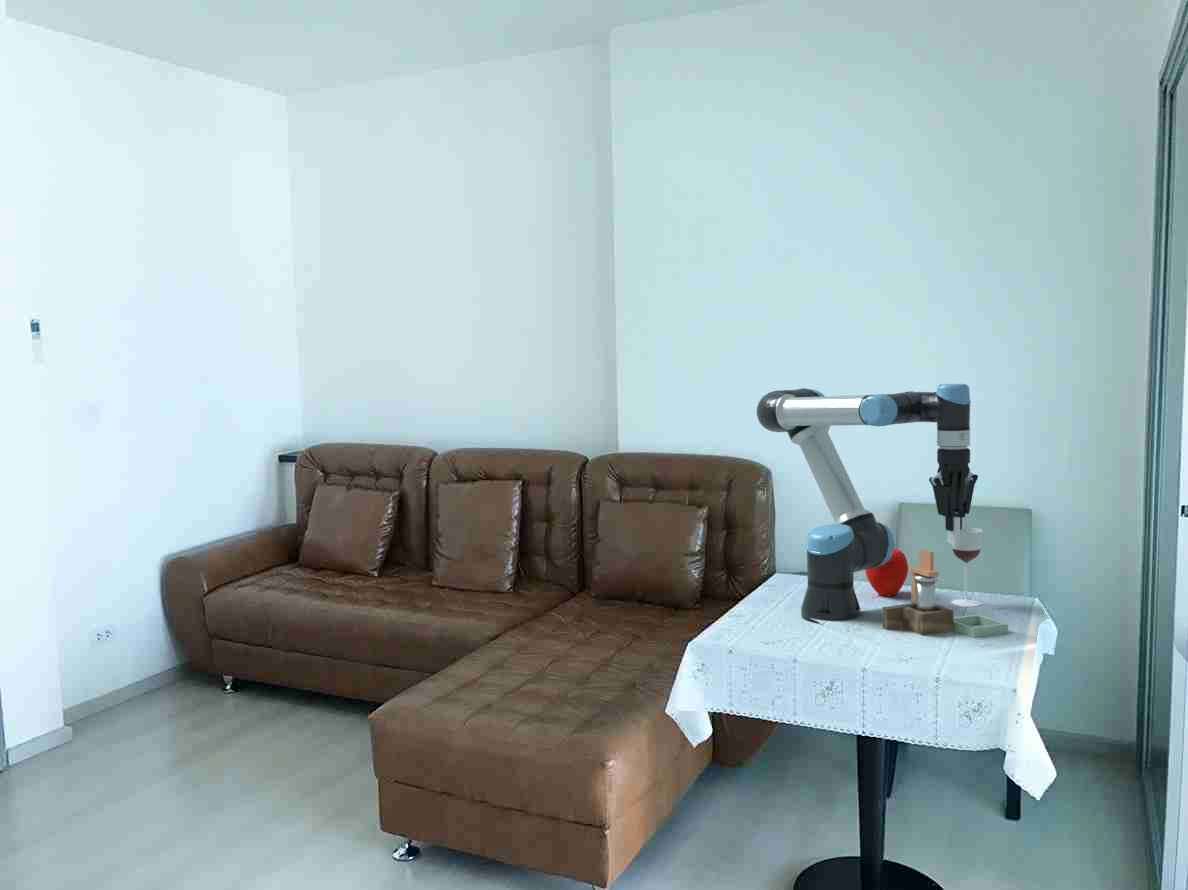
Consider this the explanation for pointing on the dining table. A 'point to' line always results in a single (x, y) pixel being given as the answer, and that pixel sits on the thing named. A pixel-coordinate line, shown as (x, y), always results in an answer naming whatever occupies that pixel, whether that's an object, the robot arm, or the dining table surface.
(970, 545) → the wineglass
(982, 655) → the dining table surface
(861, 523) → the robot arm
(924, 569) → the keeper
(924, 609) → the pin
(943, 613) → the block
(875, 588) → the apple
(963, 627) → the dish
